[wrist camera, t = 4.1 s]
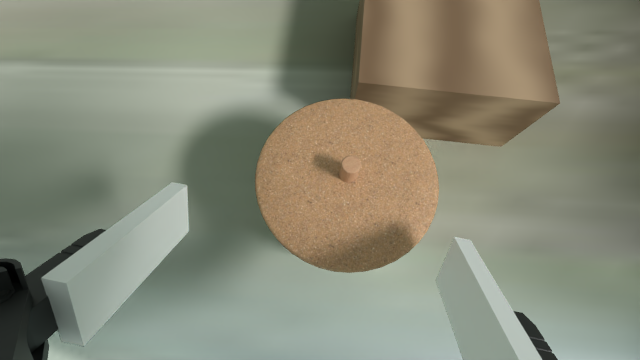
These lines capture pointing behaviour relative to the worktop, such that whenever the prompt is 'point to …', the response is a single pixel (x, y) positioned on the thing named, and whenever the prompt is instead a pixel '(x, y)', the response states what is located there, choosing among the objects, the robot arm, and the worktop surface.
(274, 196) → the lidded jar
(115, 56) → the worktop surface
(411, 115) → the walnut block
